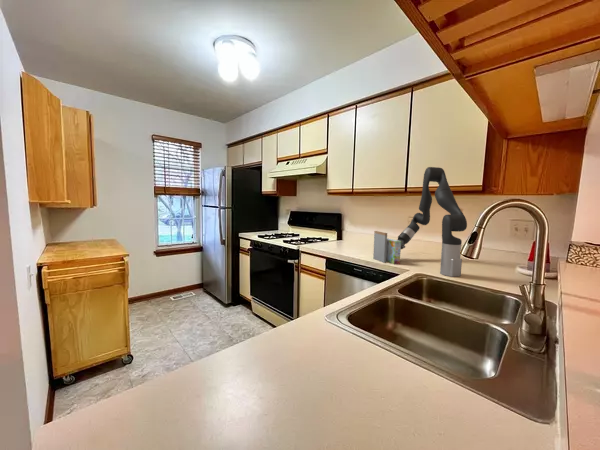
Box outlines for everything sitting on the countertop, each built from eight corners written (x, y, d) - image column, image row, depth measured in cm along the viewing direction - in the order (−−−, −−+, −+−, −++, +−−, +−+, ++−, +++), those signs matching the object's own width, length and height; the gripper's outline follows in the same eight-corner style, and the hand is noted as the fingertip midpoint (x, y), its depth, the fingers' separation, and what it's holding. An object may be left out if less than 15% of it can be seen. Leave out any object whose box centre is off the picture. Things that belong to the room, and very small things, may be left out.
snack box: (400, 263, 168) (401, 240, 167) (393, 264, 166) (394, 241, 165) (379, 257, 188) (380, 236, 187) (372, 257, 186) (373, 236, 184)
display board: (386, 262, 170) (387, 233, 168) (383, 262, 170) (385, 233, 168) (375, 258, 183) (376, 230, 181) (373, 258, 182) (374, 230, 180)
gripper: (397, 230, 186) (381, 248, 183) (409, 233, 173) (392, 251, 171) (403, 238, 187) (387, 255, 185) (416, 240, 175) (399, 259, 173)
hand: (390, 253), depth 178 cm, fingers closed
